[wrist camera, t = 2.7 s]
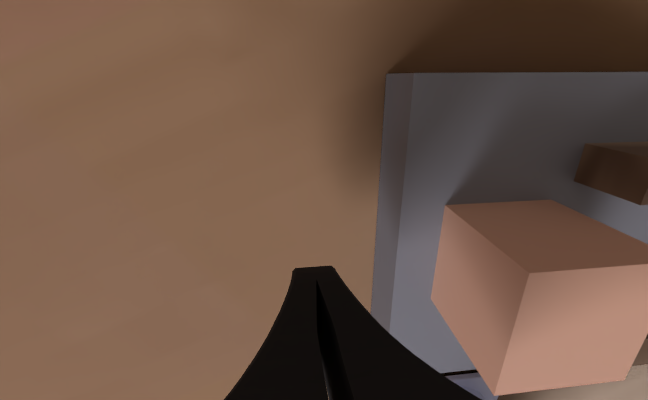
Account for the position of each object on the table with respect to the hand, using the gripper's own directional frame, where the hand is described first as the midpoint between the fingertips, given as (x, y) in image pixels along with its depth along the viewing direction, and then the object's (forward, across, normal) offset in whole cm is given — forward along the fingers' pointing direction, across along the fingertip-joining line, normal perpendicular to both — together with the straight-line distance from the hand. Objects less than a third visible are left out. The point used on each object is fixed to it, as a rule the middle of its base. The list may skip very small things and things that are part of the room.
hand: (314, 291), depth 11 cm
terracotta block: (+2, -8, 0) cm, 8 cm away
